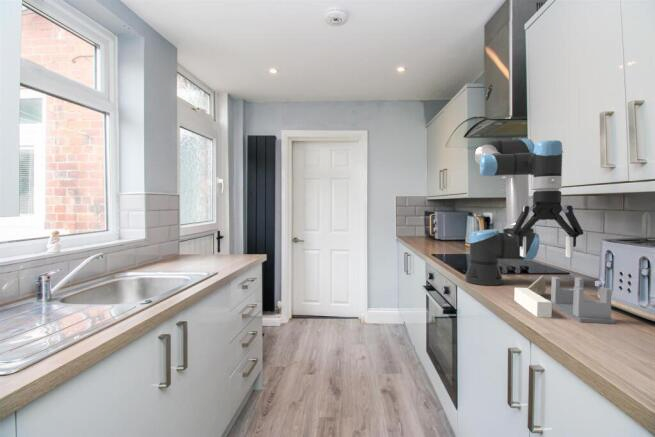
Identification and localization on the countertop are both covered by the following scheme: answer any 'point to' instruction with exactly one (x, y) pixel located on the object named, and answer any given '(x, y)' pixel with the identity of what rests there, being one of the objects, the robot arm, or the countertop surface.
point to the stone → (538, 286)
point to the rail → (533, 302)
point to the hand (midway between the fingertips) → (545, 256)
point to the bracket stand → (582, 302)
